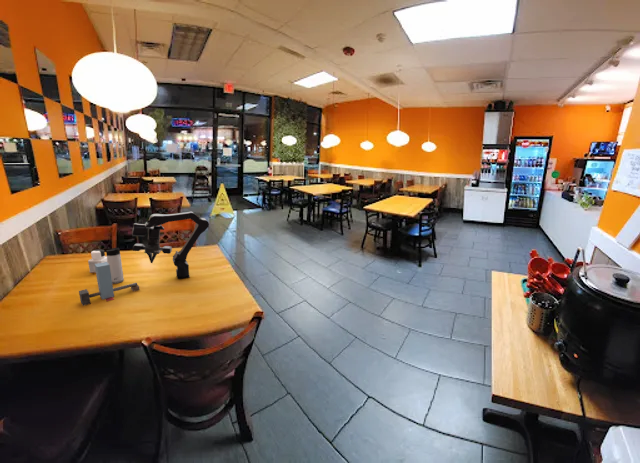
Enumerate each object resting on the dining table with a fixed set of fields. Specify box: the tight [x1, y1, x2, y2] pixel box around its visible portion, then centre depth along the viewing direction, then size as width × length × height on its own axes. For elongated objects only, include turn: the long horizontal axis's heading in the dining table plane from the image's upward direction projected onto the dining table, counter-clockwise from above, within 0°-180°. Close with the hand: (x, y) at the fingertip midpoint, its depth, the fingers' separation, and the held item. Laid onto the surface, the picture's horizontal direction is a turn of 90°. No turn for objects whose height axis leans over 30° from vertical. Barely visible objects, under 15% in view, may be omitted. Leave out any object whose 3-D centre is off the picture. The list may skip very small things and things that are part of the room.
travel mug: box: [105, 247, 125, 285], centre depth 162 cm, size 6×7×20 cm
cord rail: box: [78, 282, 140, 307], centre depth 148 cm, size 24×10×6 cm, turn 138°
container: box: [87, 248, 108, 273], centre depth 177 cm, size 8×8×13 cm
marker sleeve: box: [95, 262, 115, 300], centre depth 145 cm, size 5×5×18 cm
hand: (151, 262), depth 164 cm, fingers closed
